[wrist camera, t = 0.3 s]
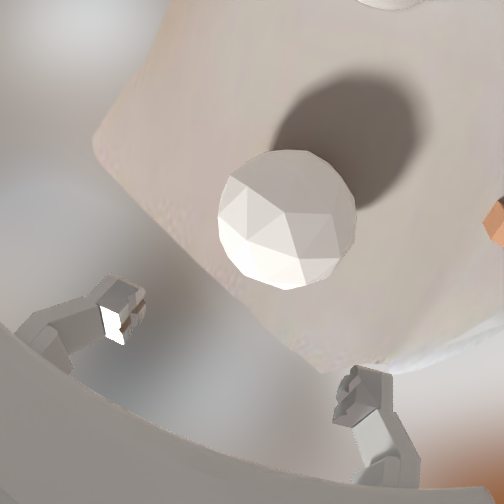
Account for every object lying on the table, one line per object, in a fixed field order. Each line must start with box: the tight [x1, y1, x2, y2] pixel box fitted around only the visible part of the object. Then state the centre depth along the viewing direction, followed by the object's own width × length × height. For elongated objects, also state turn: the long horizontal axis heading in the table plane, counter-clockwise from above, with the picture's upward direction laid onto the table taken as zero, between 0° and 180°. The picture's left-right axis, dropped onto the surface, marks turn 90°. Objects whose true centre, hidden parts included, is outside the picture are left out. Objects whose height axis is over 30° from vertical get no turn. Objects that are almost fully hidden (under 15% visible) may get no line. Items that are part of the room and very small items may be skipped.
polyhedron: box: [218, 149, 357, 290], centre depth 42 cm, size 19×20×20 cm
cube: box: [483, 200, 504, 248], centre depth 37 cm, size 5×5×5 cm
